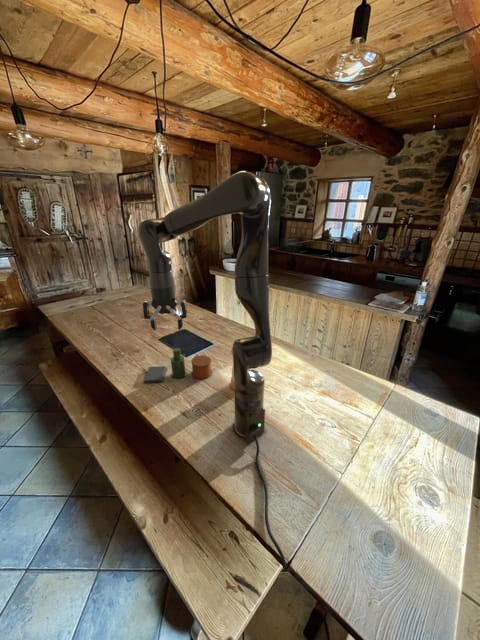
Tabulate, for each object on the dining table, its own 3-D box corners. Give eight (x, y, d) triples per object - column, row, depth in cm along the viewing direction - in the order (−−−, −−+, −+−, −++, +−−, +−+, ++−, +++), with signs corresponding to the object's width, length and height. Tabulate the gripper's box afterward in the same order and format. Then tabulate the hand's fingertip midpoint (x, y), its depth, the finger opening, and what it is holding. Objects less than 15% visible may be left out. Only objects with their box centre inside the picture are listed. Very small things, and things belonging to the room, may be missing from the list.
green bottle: (187, 375, 115) (185, 350, 110) (175, 379, 112) (172, 354, 107) (182, 369, 119) (180, 344, 114) (170, 373, 116) (167, 348, 111)
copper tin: (215, 374, 115) (214, 362, 113) (197, 381, 111) (196, 368, 108) (206, 365, 122) (205, 353, 119) (189, 371, 118) (188, 359, 115)
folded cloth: (161, 382, 111) (161, 379, 110) (144, 382, 110) (144, 380, 110) (165, 368, 120) (165, 366, 119) (150, 369, 119) (149, 366, 119)
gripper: (136, 287, 83) (144, 334, 89) (182, 287, 83) (186, 333, 90) (143, 281, 89) (149, 324, 96) (185, 280, 90) (189, 323, 97)
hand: (167, 328), depth 93 cm, fingers open, 8 cm apart
